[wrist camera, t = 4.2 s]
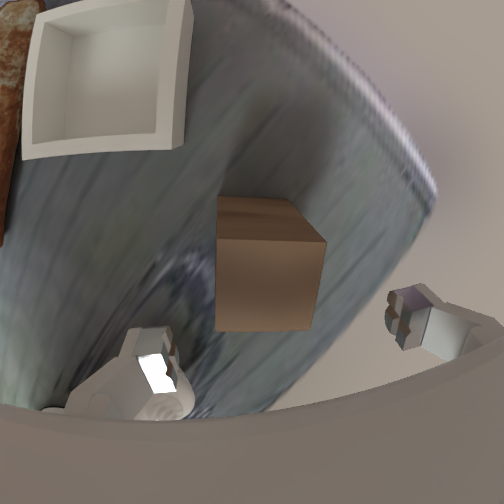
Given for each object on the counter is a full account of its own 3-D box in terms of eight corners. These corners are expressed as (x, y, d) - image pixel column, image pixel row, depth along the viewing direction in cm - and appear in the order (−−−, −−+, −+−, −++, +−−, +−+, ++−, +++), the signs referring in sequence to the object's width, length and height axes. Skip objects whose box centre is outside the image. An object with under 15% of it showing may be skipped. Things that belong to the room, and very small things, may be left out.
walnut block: (279, 261, 22) (310, 329, 14) (215, 260, 21) (215, 331, 14) (286, 199, 20) (326, 242, 12) (217, 195, 19) (216, 239, 12)
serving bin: (183, 144, 18) (171, 149, 13) (62, 150, 16) (22, 160, 12) (194, 18, 14) (187, -14, 10) (71, 33, 13) (36, 14, 9)
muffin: (186, 395, 26) (182, 455, 20) (125, 378, 25) (110, 436, 18) (205, 354, 24) (204, 420, 18) (135, 333, 23) (116, 396, 16)
